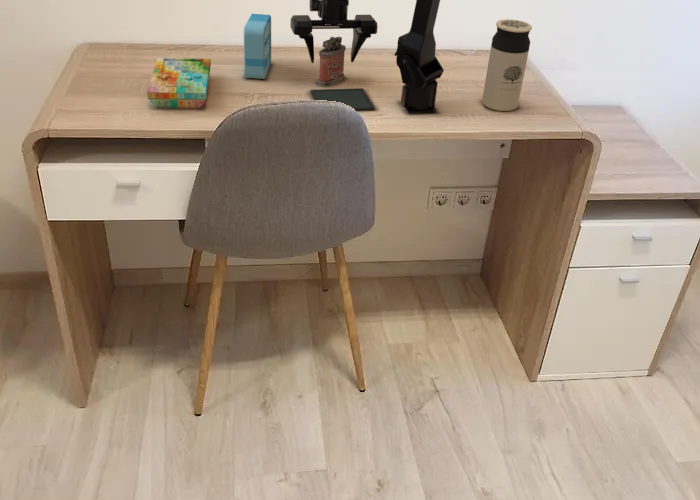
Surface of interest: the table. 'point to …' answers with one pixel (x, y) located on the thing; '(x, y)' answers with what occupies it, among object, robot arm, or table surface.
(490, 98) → the travel mug
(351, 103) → the desk mat
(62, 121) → the table surface
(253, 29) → the data package
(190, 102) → the puzzle game
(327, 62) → the lighter
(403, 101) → the robot arm
